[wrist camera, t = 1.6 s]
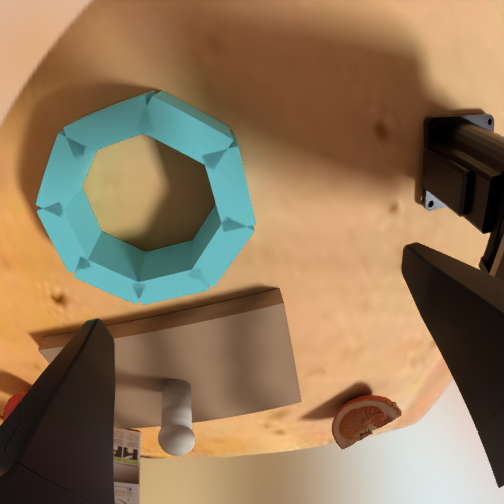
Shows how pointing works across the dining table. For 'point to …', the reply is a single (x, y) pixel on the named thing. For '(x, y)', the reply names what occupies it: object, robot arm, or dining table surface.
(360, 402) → the fruit slice
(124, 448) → the coffee box
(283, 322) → the hook board
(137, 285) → the teal octagonal ring
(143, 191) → the dining table surface
